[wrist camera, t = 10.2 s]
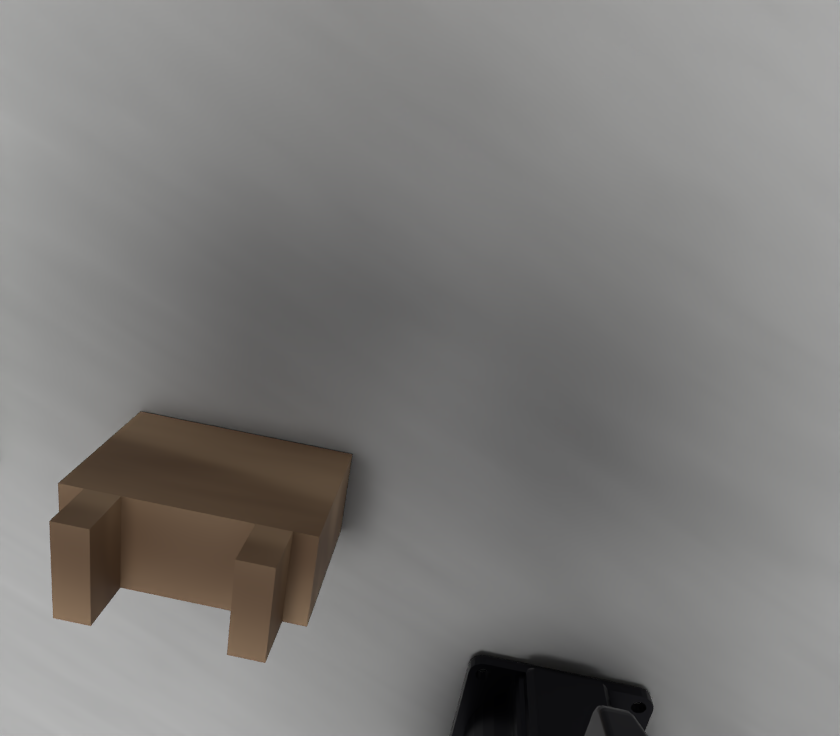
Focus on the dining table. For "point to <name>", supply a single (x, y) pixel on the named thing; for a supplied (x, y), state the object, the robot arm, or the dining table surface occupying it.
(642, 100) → the dining table surface
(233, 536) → the post
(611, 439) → the dining table surface
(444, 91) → the dining table surface
